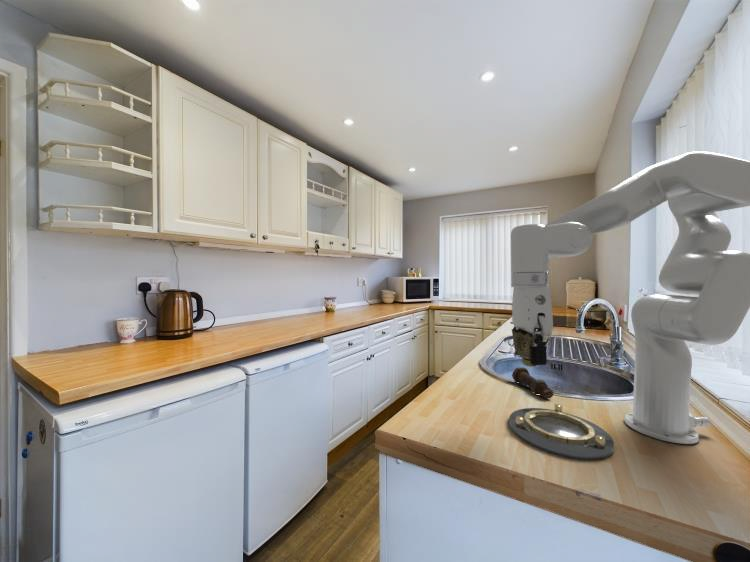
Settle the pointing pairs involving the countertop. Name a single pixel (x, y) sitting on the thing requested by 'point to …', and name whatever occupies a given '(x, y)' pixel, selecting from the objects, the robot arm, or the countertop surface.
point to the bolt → (532, 382)
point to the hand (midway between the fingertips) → (530, 358)
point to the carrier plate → (561, 433)
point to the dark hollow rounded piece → (523, 345)
